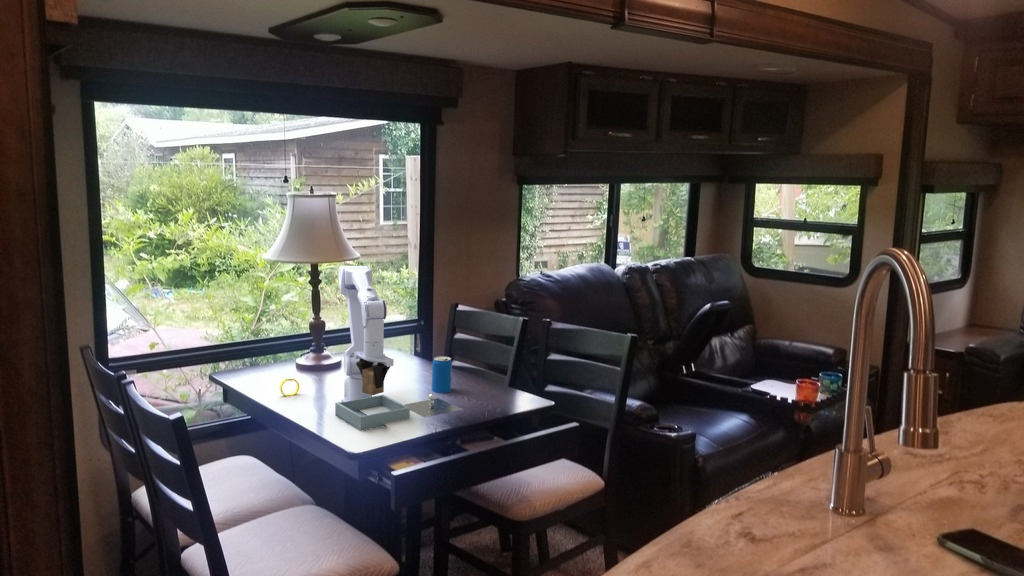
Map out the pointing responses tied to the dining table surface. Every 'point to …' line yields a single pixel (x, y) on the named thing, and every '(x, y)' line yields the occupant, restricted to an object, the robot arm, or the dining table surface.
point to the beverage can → (441, 374)
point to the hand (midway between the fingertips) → (373, 386)
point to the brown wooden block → (370, 382)
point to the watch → (289, 380)
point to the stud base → (432, 407)
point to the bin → (363, 421)
